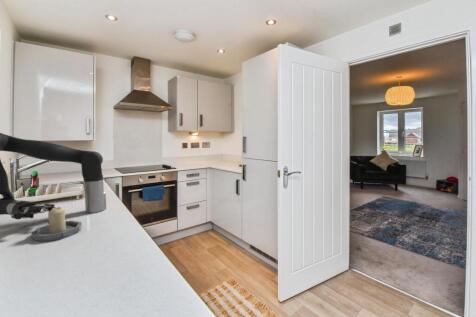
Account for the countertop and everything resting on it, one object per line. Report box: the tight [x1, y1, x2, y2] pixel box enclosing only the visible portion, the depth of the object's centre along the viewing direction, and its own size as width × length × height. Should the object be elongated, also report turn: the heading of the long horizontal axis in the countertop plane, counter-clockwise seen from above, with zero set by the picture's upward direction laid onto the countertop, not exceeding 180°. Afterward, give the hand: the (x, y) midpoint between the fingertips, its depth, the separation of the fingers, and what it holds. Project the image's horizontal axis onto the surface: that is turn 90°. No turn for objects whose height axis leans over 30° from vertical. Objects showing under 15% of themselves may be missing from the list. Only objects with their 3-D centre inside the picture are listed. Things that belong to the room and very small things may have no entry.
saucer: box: [30, 220, 83, 242], centre depth 100 cm, size 16×16×2 cm
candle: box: [47, 207, 66, 233], centre depth 99 cm, size 6×6×10 cm
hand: (44, 212), depth 102 cm, fingers open, 8 cm apart
